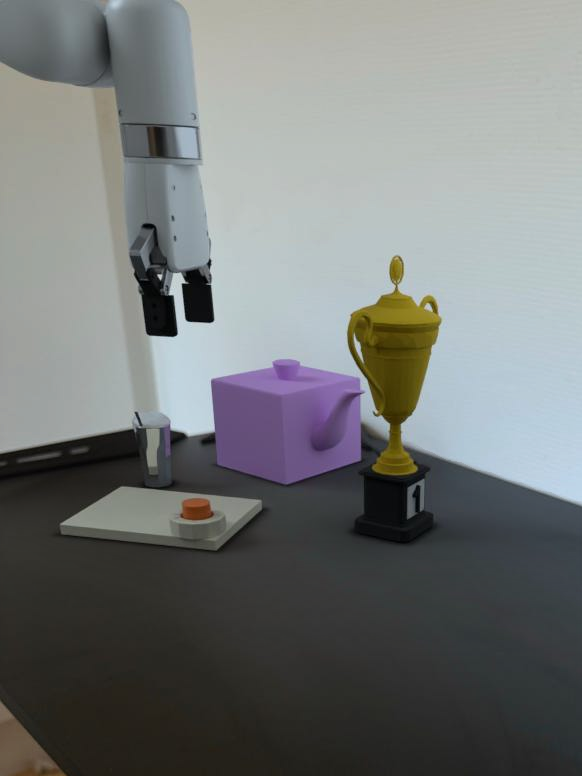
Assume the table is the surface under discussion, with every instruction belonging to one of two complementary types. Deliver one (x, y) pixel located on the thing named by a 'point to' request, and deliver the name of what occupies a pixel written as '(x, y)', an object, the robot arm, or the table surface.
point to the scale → (161, 518)
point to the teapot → (287, 421)
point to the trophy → (394, 405)
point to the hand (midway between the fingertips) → (182, 328)
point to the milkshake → (153, 447)
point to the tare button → (196, 509)
